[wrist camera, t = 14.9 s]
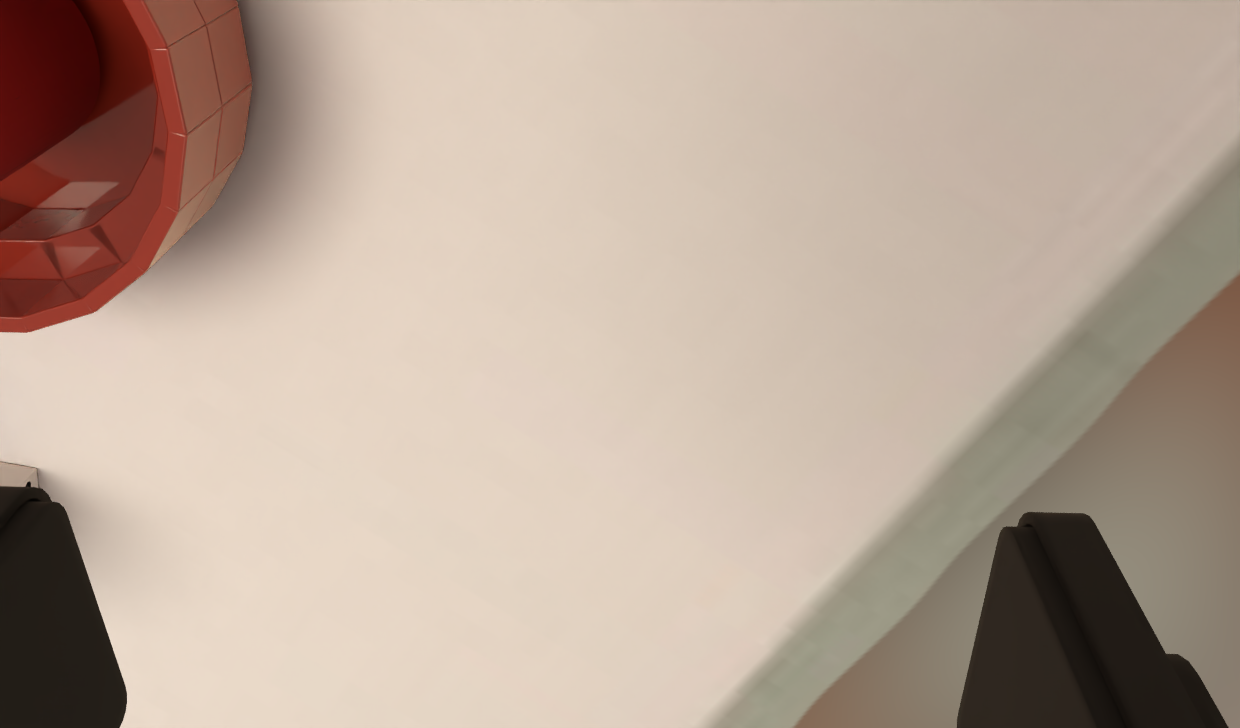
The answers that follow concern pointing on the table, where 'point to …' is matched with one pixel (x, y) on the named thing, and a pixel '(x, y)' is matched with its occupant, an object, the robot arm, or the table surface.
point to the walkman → (17, 476)
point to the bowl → (127, 159)
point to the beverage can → (43, 77)
